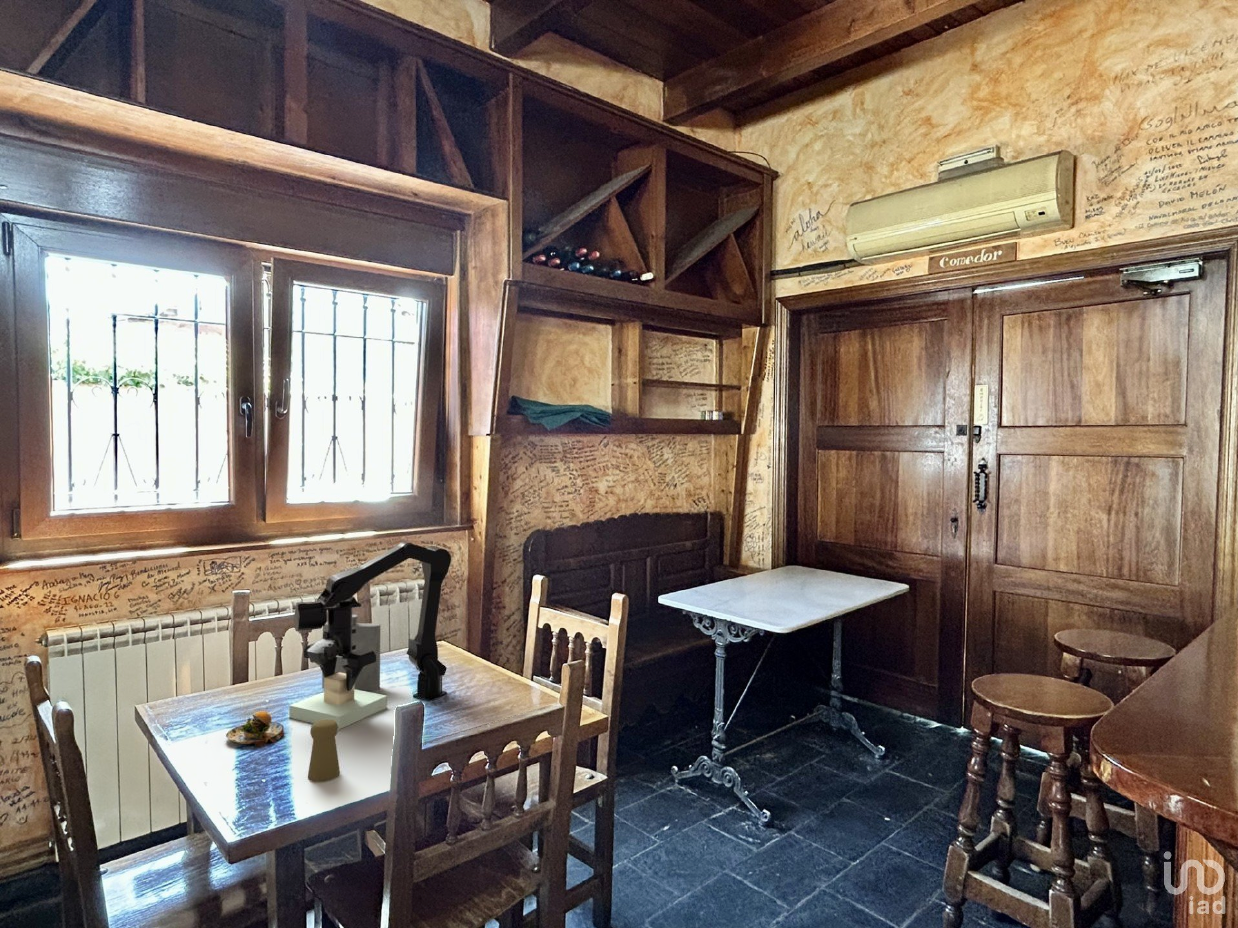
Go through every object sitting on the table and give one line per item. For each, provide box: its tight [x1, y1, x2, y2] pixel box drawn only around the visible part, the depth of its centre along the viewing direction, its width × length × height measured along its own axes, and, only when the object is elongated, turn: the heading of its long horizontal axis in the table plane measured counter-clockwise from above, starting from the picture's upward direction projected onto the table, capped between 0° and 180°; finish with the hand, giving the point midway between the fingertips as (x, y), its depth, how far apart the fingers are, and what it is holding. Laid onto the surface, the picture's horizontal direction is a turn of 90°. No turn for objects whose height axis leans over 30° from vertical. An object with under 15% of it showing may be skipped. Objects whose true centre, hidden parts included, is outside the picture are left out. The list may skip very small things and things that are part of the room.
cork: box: [307, 719, 341, 783], centre depth 149 cm, size 6×6×11 cm
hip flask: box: [321, 613, 381, 691], centre depth 201 cm, size 16×4×20 cm, turn 86°
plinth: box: [288, 689, 388, 730], centre depth 183 cm, size 16×16×3 cm
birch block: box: [323, 672, 355, 705], centre depth 183 cm, size 5×5×6 cm
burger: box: [225, 707, 285, 748], centre depth 167 cm, size 12×12×8 cm
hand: (339, 688), depth 183 cm, fingers open, 6 cm apart
